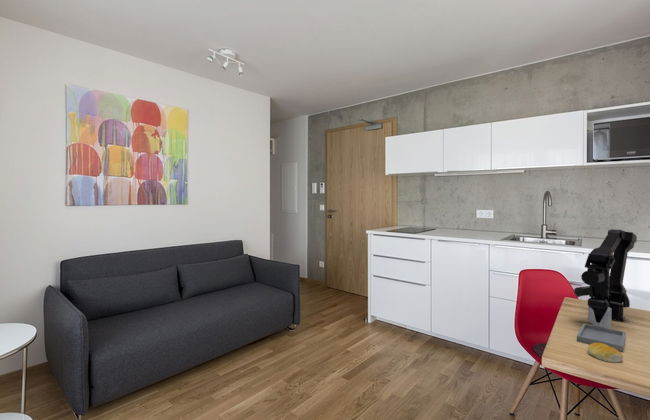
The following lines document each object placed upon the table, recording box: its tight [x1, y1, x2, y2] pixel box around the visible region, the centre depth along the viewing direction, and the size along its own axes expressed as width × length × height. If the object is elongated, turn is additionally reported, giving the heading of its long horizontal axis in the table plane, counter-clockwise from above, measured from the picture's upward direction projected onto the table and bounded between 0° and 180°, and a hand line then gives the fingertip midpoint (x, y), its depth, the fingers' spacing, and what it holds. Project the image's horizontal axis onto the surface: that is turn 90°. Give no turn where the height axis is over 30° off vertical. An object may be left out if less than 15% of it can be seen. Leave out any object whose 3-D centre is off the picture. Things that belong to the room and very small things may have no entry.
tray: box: [576, 323, 626, 353], centre depth 122 cm, size 18×13×2 cm
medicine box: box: [587, 305, 612, 329], centre depth 136 cm, size 8×4×9 cm, turn 168°
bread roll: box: [587, 343, 624, 363], centre depth 109 cm, size 8×9×4 cm
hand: (599, 319), depth 136 cm, fingers closed on medicine box, 9 cm apart
